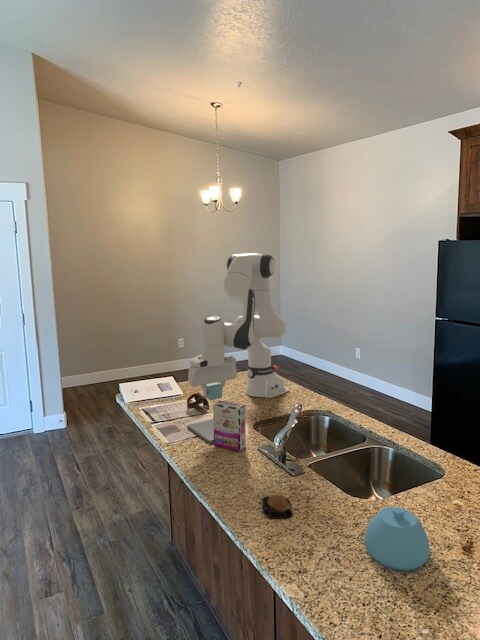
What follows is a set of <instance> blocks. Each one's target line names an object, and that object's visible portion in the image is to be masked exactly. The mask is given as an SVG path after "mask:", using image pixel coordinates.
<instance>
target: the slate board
mask: <svg viewBox="0 0 480 640" xmlns="http://www.w3.org/2000/svg"><path fill="white" fill-rule="evenodd" d="M187 429H189V431H191V432H192V433H194V434H195V435H196V436H198V437H200V438H201V439H203V440H204V441H205V442H206V443H208V444H209V445H211V444H214V418H211V419H207V420H202V421H198V422H195V423H190V424H187Z"/></svg>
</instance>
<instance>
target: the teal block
mask: <svg viewBox="0 0 480 640" xmlns="http://www.w3.org/2000/svg"><path fill="white" fill-rule="evenodd" d="M220 384H221V383H219V382H216V383H211V384H206V387H205V388H206V389H207V390H209V395H204V396H205V398H206V399H207V400H209V401H214V400H220V399H223V392H222V385H220Z"/></svg>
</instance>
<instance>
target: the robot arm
mask: <svg viewBox="0 0 480 640" xmlns="http://www.w3.org/2000/svg"><path fill="white" fill-rule="evenodd" d="M275 263H276V262H275V259H274V257H273V255H271V254H266V253H258V252H257V253H256V252H253V253H252V252H250V253H235V254H231V255H230V256H229V257H228V258H227V261H226V269H227V271H226V274H225V278H224V280H223V281H224V282H223V290H224V291H225V293H226V295H227V296H228V297H229V298H230V299H232V300H234V301H236V302H238V303H240V304H242V305H243V307H242V315H238V316H237V318H236V319H235V320H234V322H233V323H232V322H225V321H223V318H222V317H221V316H217V315H212V316H207V317H205V318H204V319H203V320H202V324H201V332H200V333H201V334H200V335H201V336H200V338H201V340H200V341H201V350H200V351H201V353H200V354H198V355H196V356H194V357H193V358H191V359H190V360H189V364H190V366H189V368H188V373H187V374H188V375H187V378H188V379H187V382H188V384H189V385H190V386H191V387H198V386H199V387H200V388H201V389H202V391H203V396H205V395H209V390H207V389H206V388H205V387H206V384H211V383H219V384H220V385H222V393H223V391H224V387H225V385H226V382H227V381H231V380H236V378H237V375H238V373H237V364H236V358H235V356H232V355H229V356H225V348H224V347H226V348H235V349H238V350H247V355H248V364H247V382H246V383H247V384H246V388H245V392H244V394H245V395H246V396H247V395H248V396H250V397H254V398H266V399H267V398H268V399H272V398H274V397H277V396H280V395H282V394H286V393H288V392H290V389H289V388H288V387H287V386H286V385H285V381H284V379H283V377H281V376H280V375H279V374H278V373H276V372H275V371H277V370H278V368H279V366H277V365H275V364H274V365H272V352H271V349H270V347H269V346H267V345H266V344H265V343H263V342H262V340H261V339H269V340H270V339H271V340H274V339H281V338H283V336H284V335H285V334H286V331H287V323H286V321H285V320H284V318H283V317H281V316H280V315H279V314H278V313H277V312H276V310H275V309H274V307H273V303H272V298H271V296H272V295H271V283H270V282H271V281H270V277H272V275H273V274H274V273H275V267H276V264H275ZM255 313H257V314H255ZM274 370H275V371H274Z"/></svg>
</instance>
